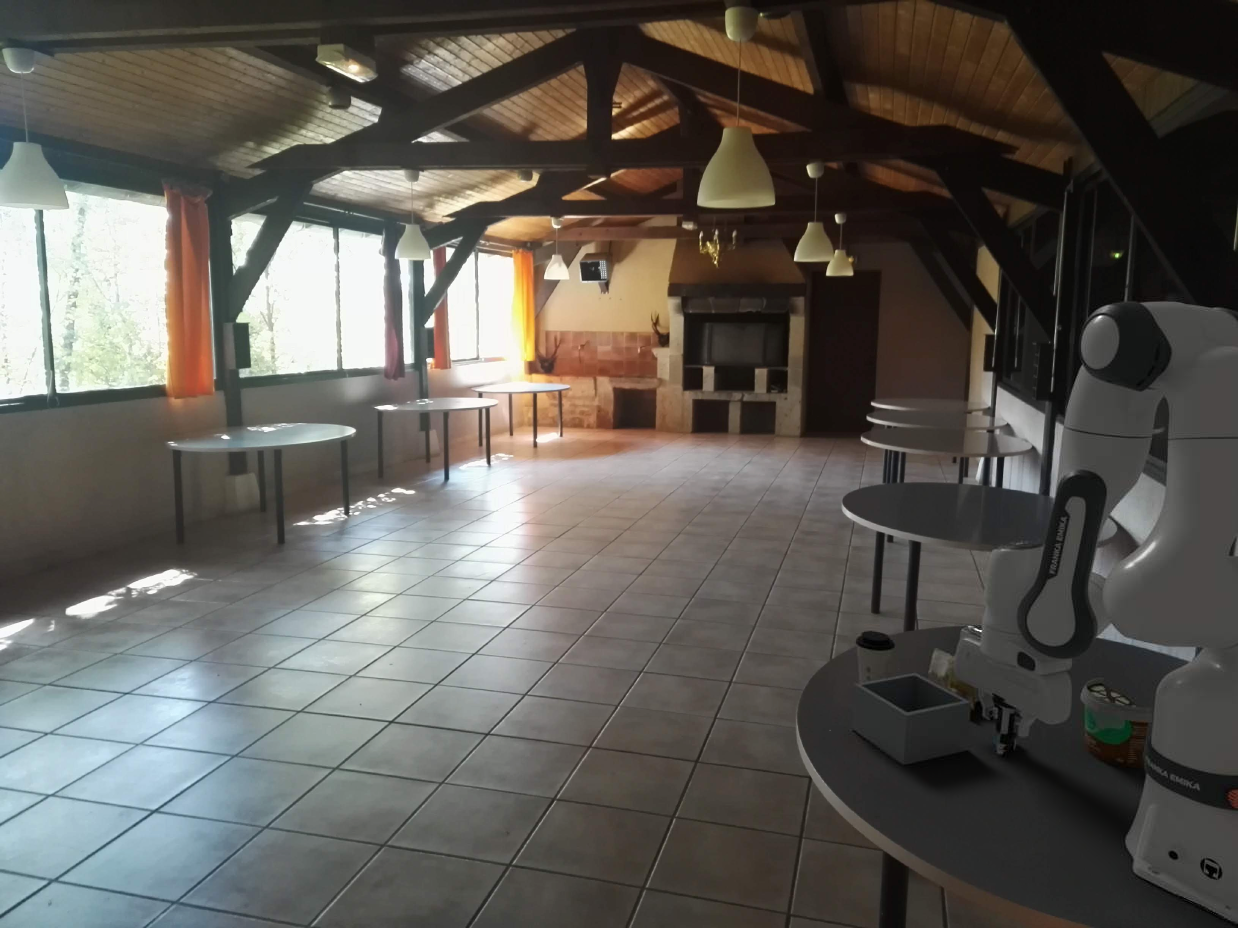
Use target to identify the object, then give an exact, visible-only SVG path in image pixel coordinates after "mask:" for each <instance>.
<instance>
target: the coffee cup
mask: <svg viewBox="0 0 1238 928" xmlns="http://www.w3.org/2000/svg"><path fill="white" fill-rule="evenodd" d="M855 644H856V649H857V650H856V651H857V652H856V653H857V662H858V675H859V677H858V679H859V683H863V682H868V681H874V680H879V679H885V678H889V672H890V667H891V663H892V657H893V651H894V648H895V647H896V644H895V642H894V641H893V639H892V638H890V636H889V635H888V634H886V633H884V632H879V631H873V630H868V631H867V630H866V631H863V632H861V634H860V635H859V636H858V637H857V638H856V640H855Z"/></svg>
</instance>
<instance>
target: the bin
mask: <svg viewBox="0 0 1238 928" xmlns="http://www.w3.org/2000/svg"><path fill="white" fill-rule="evenodd" d="M852 699H853V701H852V720H851V721H852V722H851V724H852V725H851V729H852V728H853V729H854V730H855V731H857V732H858V733H859V734H861V735H862V736H863V737H865V738H866V739H867V740H869V741H870V742H871V743H870V742H869V741H868V742H869V743H870V744H872V743H873V744H874V745H873V744H872V745H873V746H875V745H876V746H875V747H877V749H879V748H880V749H879V750H880V751H882V750H883V751H882V752H884V753H885V754H887V755H888V756H890V757H891V758H892V759H894V760H895V761H897V762H898V763H900V764H902V765H903V766H904V765H905V766H906V765H909V764H914V763H918V762H923V761H927V760H931V759H936V758H939V757H944V756H945V757H946V756H948V755H949V756H950V755H953V754H957V753H962V752H966V751H968V750H969V738H970V737H969V735H970V724H971V723H970V722H971V721H970V720H971V711H970V710H971V702H970V701H968V700H966V699H964V698H962V697H960V696H958V695H956V694H955V693H953V692H951V691H949V690H947V689H945V688H943V687H941V686H939V685H937V684H936V683H934V682H932V681H930V680H928V678H926V677H924V676H922V675H921V674H918V673H917V672H911V673H908V674H902V675H896V676H892V677H891V676H890V677H888V678H885V679H879V680H874V681H868V682H863V683H860V682H858V683H854V684H853V698H852ZM863 737H862V738H863ZM866 739H865V740H866ZM867 740H866V741H867Z"/></svg>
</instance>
